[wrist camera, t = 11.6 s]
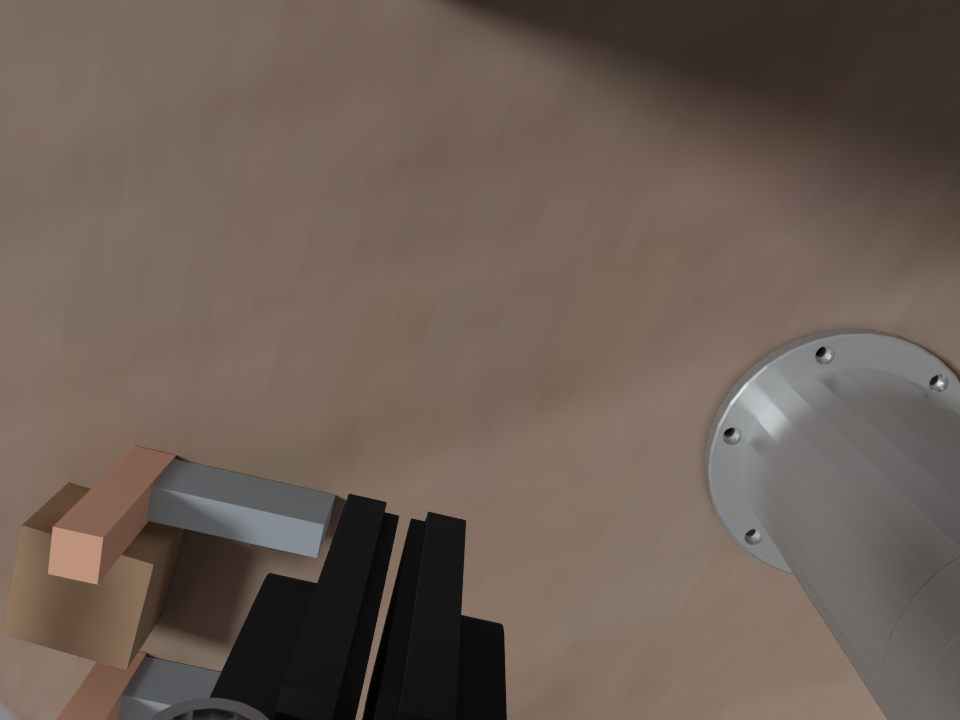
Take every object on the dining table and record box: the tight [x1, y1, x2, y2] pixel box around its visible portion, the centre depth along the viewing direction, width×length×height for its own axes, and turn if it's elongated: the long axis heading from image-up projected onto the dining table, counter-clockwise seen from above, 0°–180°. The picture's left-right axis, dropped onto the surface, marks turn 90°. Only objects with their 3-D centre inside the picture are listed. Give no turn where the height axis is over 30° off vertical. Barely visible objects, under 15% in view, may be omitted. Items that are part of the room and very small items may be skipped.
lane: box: [48, 446, 335, 720], centre depth 39 cm, size 10×14×8 cm
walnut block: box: [0, 483, 184, 670], centre depth 40 cm, size 6×6×4 cm
